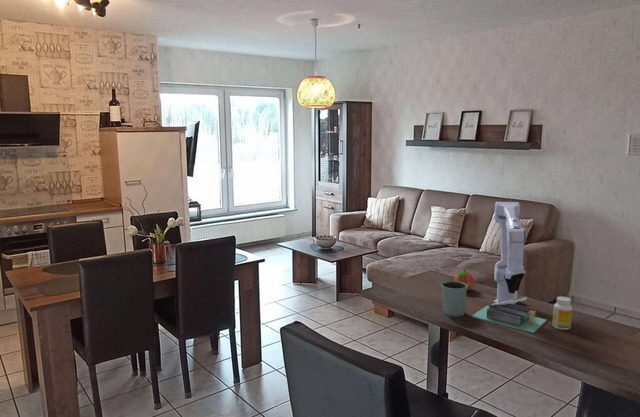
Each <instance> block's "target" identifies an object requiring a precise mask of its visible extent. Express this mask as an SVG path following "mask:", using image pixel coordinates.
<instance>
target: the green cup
mask: <svg viewBox="0 0 640 417" xmlns="http://www.w3.org/2000/svg"><path fill="white" fill-rule="evenodd" d="M440 288H441V296H442V297H441V299H442V312H443V314H444V315H446V316H449V317H463V316H464V315H465V312H466V301H467V285H466V284H465V283H462V282H457V281H455V280H447V281H444V282H442V283H441V287H440Z"/></svg>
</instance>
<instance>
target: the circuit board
mask: <svg viewBox="0 0 640 417" xmlns="http://www.w3.org/2000/svg"><path fill="white" fill-rule="evenodd" d="M487 309H489V305H486V306H484V307H483V308H481V309H480V310H478V311H476V312H475V313H474V314H472V315H471V318H473V319H475V320H476V319H477V320H481V321H484V322H488V323H492V324H496V325H499V326H504V327H507V328H512V329H515V330H517V331H518V330H519V331H523V332H526V333H530V334H535V333H536V332H537V331H538V330H539V329H540V328H541V327H542V326H544V324H545V323H546V322H547V319H545V318H542V317H537V316H535V323H534V324H533V325H529V319H528V320H527V321H526V322H525V323H524V324H523V325H521V326H520V327H519V326H515V325H511V324H507V323H503V322H499V321H496V320H492V319H488V318H487Z"/></svg>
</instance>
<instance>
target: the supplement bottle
mask: <svg viewBox="0 0 640 417" xmlns="http://www.w3.org/2000/svg"><path fill="white" fill-rule="evenodd" d="M571 302H572V299H571V298H570V297H568V296H562V295H560V296H557V297H556V303H554V304H553V311H552V312H553V314H552V322H551V324H552V326H553V327H554V328H555V329H558V330H563V331H566V330H568V331H569V330H570V329H571V328H572V318H573V306H572V305H571Z"/></svg>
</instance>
